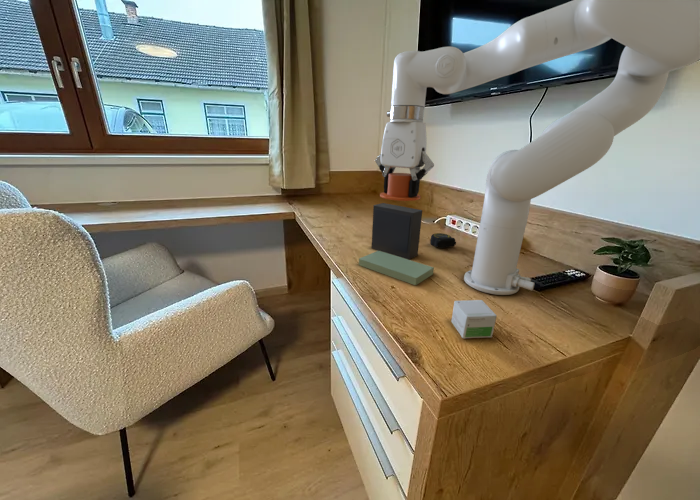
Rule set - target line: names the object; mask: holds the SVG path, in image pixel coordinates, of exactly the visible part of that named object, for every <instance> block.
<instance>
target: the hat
mask: <svg viewBox="0 0 700 500" xmlns="http://www.w3.org/2000/svg"><path fill="white" fill-rule="evenodd" d="M410 180H412V176H411V173H407V172H393V173H389V176H388V191H387V193H384V191H382V192H380V193H379V197H380V198H382V199H385V200H388V201H389V200H390V201H396V202H397V201H399V202H414V201H419V200H420V199H421V198H422V196H421V195H420V194H419V193H418V194H417V196H416V197H409V196H408V194H409V183H410Z"/></svg>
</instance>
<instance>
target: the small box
mask: <svg viewBox="0 0 700 500" xmlns="http://www.w3.org/2000/svg"><path fill="white" fill-rule="evenodd" d="M496 321H497V314H496V313H495V312H494V310H492V309H491V308H490V307H489V305H488V304H487V303H485V302H484V300H483V299H472V300H471V299H468V300H466V299H465V300H454V302H453V308H452V315H451V322H450V323H452V325H453V327H454V328H455V329H456V331H457V332H458V334H459V335H460V337H461V338H462V339H464V340H465V339H480V338H481V339H482V338H493V335H494V330H495V325H496Z"/></svg>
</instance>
